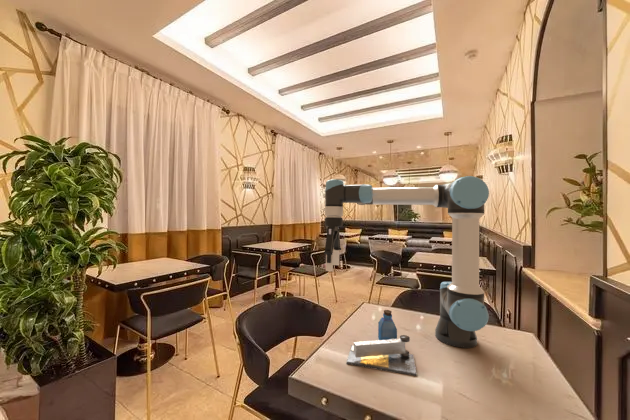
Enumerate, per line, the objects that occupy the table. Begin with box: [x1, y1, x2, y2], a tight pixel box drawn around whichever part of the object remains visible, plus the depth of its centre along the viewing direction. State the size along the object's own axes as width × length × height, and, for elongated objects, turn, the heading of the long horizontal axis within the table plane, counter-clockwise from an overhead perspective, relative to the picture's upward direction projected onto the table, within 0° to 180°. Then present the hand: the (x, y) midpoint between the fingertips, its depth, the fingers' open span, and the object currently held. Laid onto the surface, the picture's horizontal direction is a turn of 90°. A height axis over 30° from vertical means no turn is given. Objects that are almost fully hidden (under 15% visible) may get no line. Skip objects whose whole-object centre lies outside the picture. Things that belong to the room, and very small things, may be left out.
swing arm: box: [353, 334, 411, 357], centre depth 90 cm, size 20×3×5 cm, turn 101°
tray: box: [346, 344, 418, 377], centre depth 90 cm, size 22×12×2 cm, turn 74°
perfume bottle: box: [377, 309, 398, 340], centre depth 104 cm, size 6×6×12 cm
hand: (332, 267), depth 109 cm, fingers open, 13 cm apart
